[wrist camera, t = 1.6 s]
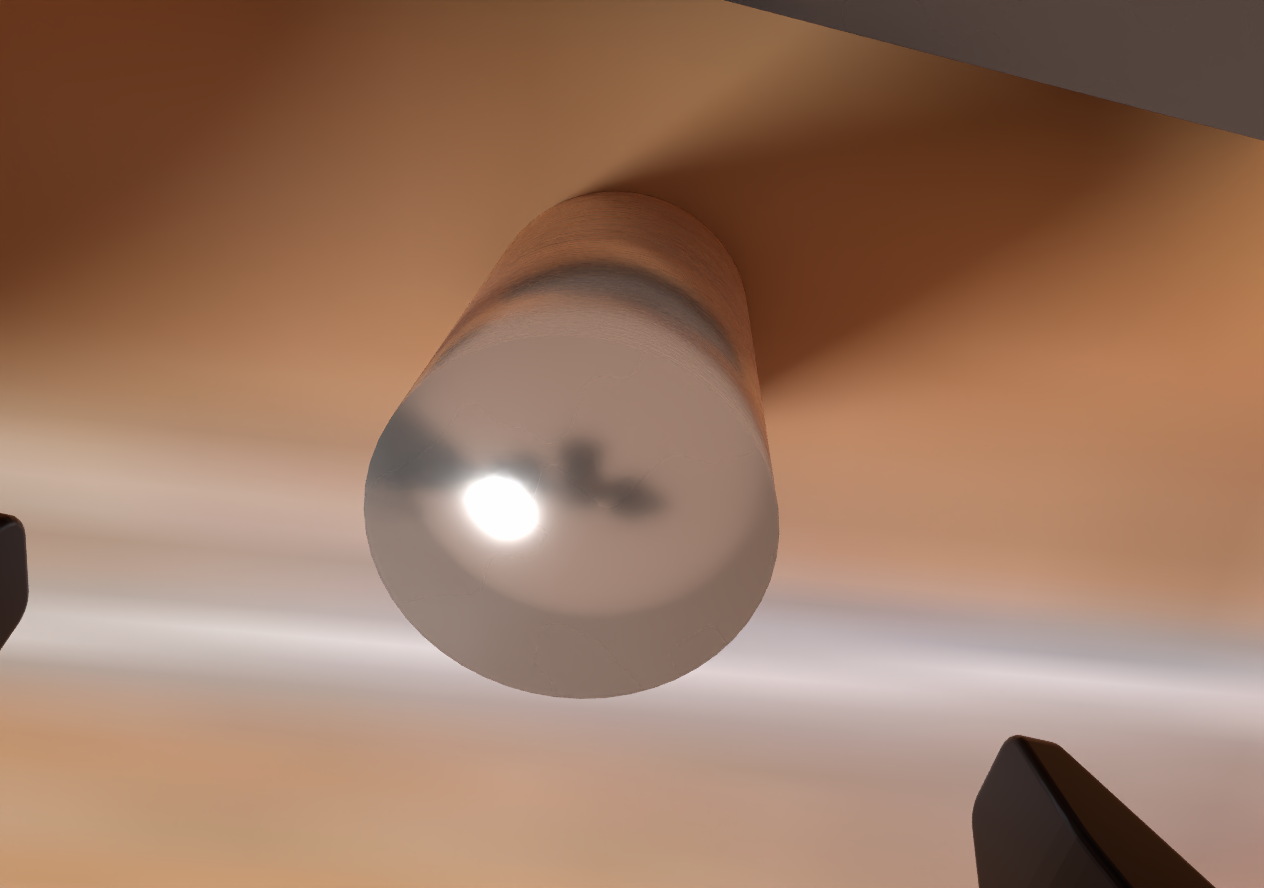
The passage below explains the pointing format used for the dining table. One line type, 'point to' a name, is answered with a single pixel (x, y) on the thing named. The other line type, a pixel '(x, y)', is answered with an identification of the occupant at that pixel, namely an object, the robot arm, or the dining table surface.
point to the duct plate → (1083, 46)
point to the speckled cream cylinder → (584, 460)
